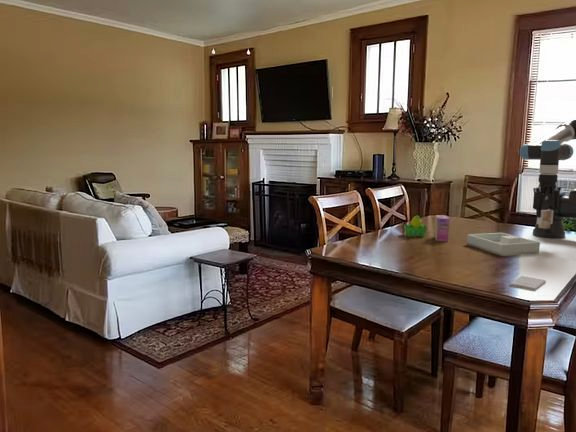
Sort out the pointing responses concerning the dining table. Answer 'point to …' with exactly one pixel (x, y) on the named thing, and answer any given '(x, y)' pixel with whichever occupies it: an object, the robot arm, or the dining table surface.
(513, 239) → the grey cube
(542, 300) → the dining table surface
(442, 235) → the box
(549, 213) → the beech cylinder
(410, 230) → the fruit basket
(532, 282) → the external hard drive
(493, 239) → the tote
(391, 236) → the dining table surface
